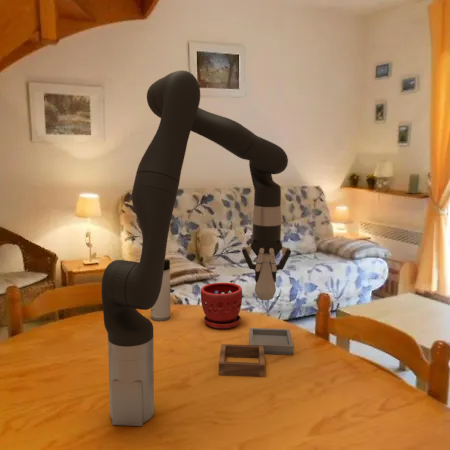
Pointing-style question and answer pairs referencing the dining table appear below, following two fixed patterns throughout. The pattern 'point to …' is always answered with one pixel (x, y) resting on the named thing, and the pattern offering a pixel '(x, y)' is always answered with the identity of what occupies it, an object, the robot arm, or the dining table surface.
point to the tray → (272, 340)
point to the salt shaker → (265, 280)
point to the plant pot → (221, 304)
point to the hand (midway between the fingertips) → (265, 283)
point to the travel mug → (163, 297)
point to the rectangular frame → (242, 367)
